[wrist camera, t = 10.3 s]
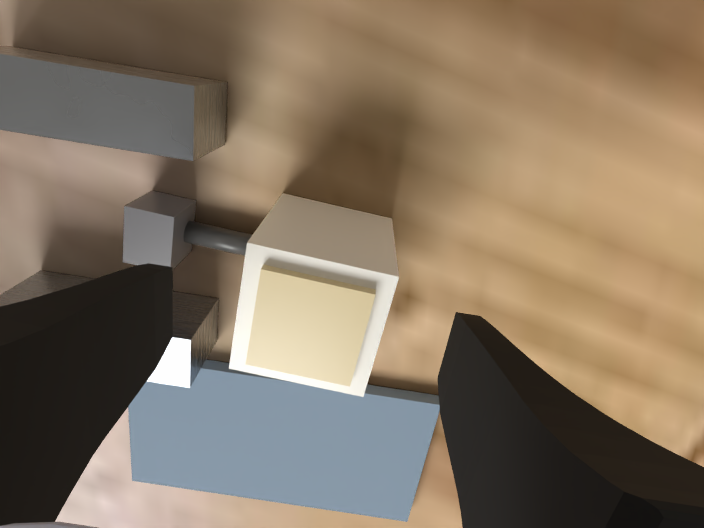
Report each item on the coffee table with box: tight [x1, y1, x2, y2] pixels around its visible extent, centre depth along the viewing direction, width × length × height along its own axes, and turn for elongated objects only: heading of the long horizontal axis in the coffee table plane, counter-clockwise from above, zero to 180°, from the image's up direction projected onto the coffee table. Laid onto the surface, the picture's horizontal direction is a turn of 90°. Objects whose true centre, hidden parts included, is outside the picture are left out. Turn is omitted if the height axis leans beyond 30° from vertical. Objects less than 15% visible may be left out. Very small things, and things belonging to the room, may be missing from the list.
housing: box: [0, 46, 228, 388], centre depth 15 cm, size 7×10×3 cm
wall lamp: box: [123, 191, 399, 397], centre depth 15 cm, size 9×4×5 cm, turn 77°
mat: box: [128, 360, 440, 522], centre depth 20 cm, size 13×7×1 cm, turn 81°
